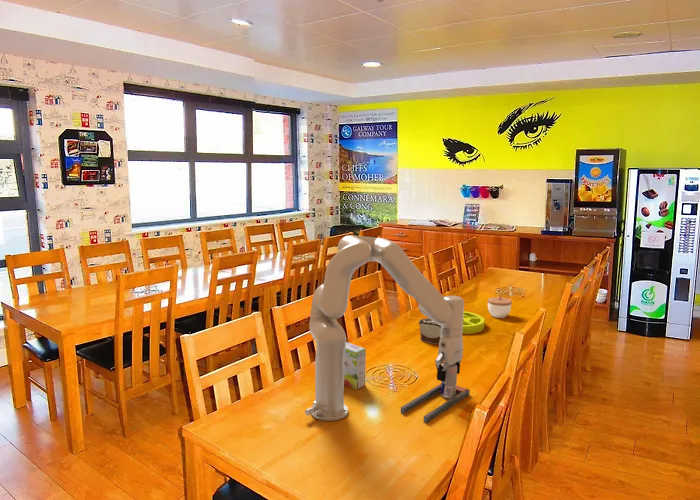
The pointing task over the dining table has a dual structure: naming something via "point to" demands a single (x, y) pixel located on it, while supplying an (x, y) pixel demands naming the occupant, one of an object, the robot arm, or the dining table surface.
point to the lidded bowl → (499, 307)
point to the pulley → (472, 323)
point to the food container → (430, 331)
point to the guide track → (460, 395)
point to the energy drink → (449, 382)
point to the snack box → (354, 366)
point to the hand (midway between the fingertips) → (448, 376)
